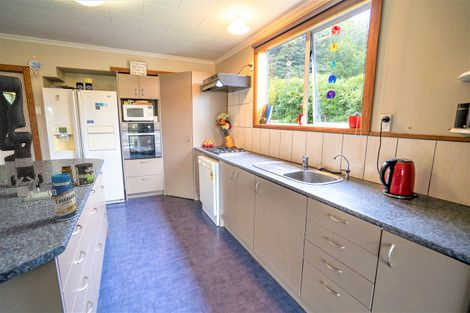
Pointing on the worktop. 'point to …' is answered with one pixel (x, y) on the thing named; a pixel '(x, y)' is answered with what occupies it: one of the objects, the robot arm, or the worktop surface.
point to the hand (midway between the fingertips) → (29, 191)
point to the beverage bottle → (63, 197)
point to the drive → (26, 189)
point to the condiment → (67, 171)
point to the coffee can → (84, 174)
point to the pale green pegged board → (38, 195)
